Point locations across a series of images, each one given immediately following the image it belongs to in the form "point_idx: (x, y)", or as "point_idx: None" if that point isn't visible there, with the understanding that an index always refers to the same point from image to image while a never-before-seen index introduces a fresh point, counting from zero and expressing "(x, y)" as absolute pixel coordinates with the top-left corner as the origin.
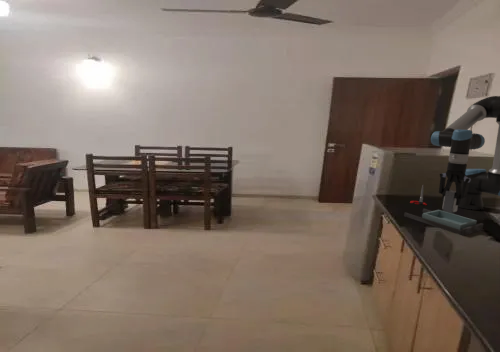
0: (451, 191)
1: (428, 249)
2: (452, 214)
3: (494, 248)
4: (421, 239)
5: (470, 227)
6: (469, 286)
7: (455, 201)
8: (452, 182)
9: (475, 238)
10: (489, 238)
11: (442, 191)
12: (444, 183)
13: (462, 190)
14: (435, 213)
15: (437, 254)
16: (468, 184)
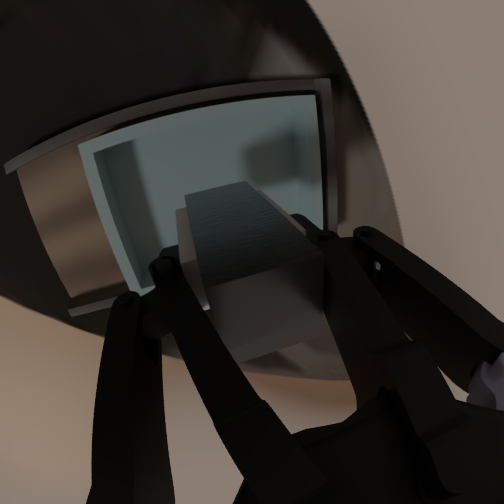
0: (276, 335)
1: (316, 363)
2: (179, 126)
3: (394, 208)
4: (273, 354)
5: (336, 198)
6: None
7: None
8: (266, 405)
9: (339, 187)
10: (358, 133)
11: (153, 331)
12: (140, 407)
13: (398, 321)
14: (107, 190)
15: (337, 357)
16: (481, 319)
